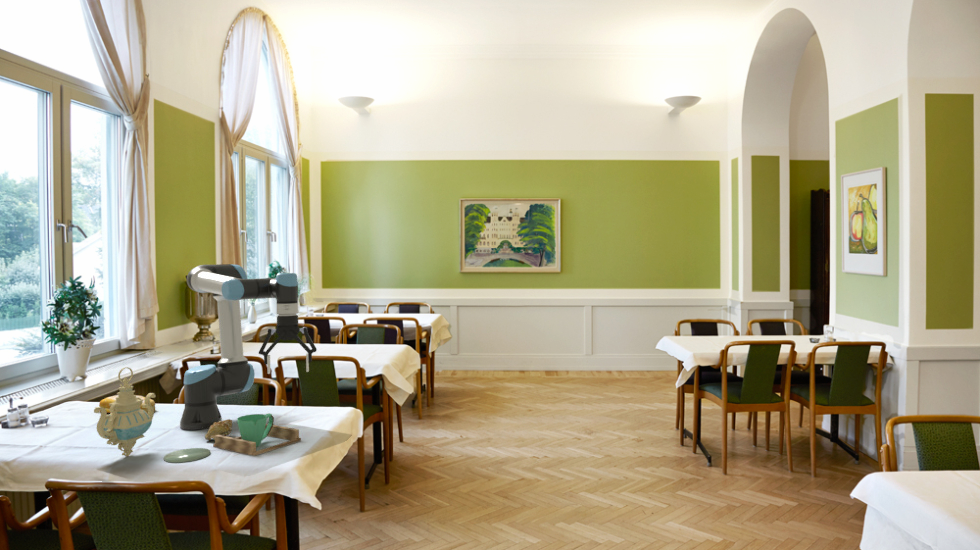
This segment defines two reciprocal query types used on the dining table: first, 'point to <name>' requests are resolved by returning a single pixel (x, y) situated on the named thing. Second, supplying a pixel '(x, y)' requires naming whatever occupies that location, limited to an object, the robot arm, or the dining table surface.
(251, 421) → the mug
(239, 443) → the oak frame
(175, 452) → the coaster
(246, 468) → the dining table surface
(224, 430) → the seashell
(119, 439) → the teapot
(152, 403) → the bread
